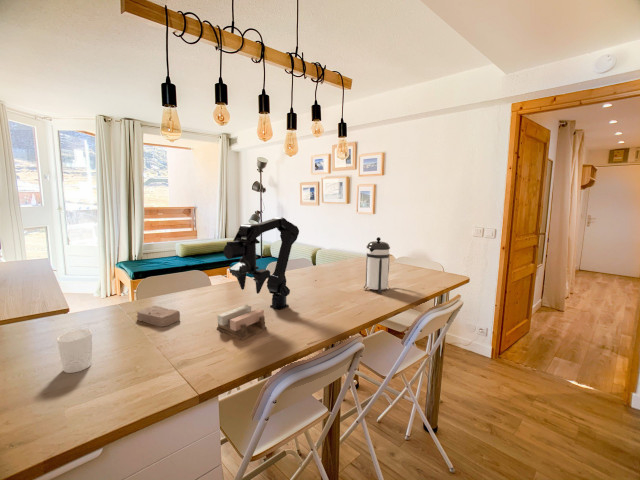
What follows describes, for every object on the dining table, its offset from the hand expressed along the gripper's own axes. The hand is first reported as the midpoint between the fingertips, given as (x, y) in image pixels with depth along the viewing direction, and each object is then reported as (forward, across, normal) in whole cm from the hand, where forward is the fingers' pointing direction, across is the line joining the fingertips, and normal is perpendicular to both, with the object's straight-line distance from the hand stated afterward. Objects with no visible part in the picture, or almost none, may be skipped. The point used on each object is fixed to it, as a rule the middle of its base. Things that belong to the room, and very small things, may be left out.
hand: (250, 291), depth 128 cm
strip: (+8, +2, -10) cm, 13 cm away
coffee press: (+14, +26, +71) cm, 77 cm away
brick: (+12, -29, -24) cm, 39 cm away
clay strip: (+8, +9, -10) cm, 16 cm away
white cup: (+11, -14, -56) cm, 59 cm away
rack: (+11, +6, -10) cm, 16 cm away
